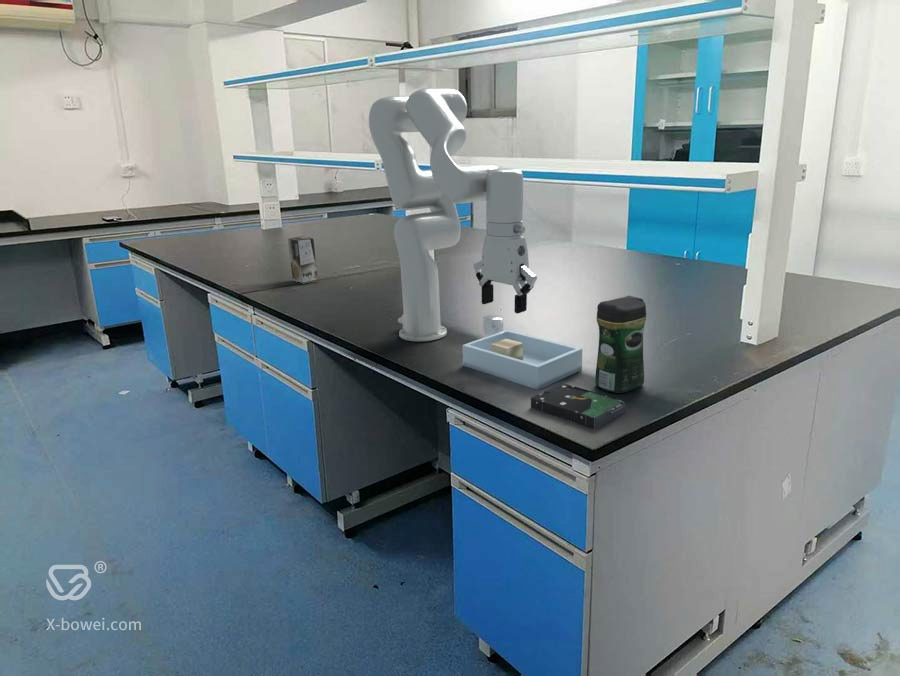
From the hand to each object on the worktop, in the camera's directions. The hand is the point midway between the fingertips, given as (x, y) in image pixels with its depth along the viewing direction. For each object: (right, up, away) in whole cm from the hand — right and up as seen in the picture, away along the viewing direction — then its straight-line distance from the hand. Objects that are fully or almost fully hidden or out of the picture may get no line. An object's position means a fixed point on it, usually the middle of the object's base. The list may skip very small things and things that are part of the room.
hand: (503, 307), depth 143 cm
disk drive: (+13, -21, -18) cm, 31 cm away
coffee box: (-65, +14, +99) cm, 120 cm away
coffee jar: (+23, -17, -8) cm, 30 cm away
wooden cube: (+1, -13, +3) cm, 13 cm away
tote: (+4, -13, +4) cm, 15 cm away
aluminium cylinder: (-1, -8, +20) cm, 22 cm away
